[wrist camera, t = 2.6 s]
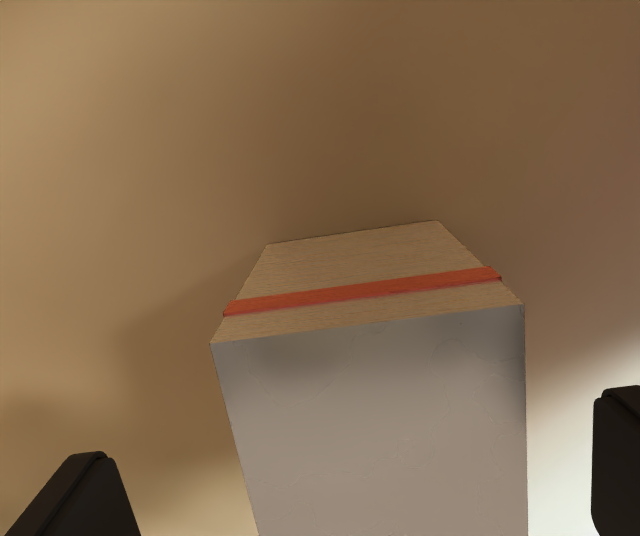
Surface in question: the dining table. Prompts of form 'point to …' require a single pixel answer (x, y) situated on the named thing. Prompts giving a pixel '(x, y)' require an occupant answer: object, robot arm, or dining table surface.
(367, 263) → the cardboard mailer box
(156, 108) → the dining table surface
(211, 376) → the dining table surface
